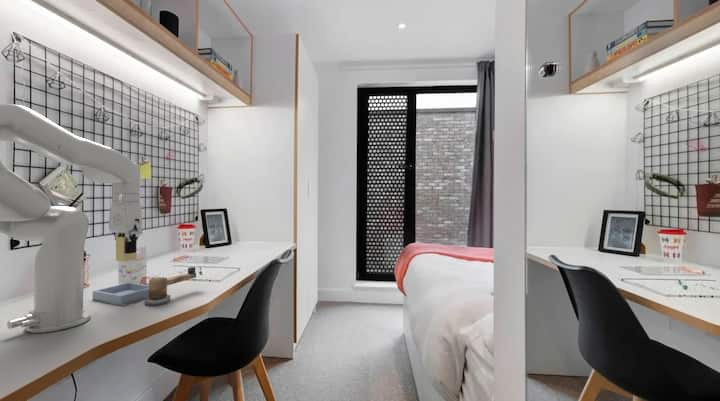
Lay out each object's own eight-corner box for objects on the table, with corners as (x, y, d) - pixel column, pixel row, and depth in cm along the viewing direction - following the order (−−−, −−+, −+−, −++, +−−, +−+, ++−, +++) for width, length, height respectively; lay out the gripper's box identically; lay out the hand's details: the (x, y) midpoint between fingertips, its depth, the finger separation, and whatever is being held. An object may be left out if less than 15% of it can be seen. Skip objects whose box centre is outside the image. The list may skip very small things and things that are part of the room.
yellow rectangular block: (124, 261, 104) (124, 237, 104) (115, 260, 105) (116, 236, 105) (136, 259, 108) (136, 236, 107) (128, 258, 109) (128, 235, 109)
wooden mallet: (156, 299, 99) (156, 278, 99) (145, 297, 101) (145, 276, 101) (199, 286, 115) (199, 267, 115) (188, 284, 117) (189, 266, 117)
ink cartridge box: (134, 282, 124) (134, 245, 124) (146, 283, 124) (147, 246, 123) (117, 289, 115) (117, 249, 115) (130, 289, 115) (131, 249, 115)
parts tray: (120, 305, 99) (121, 296, 98) (92, 300, 103) (92, 291, 103) (155, 295, 109) (155, 286, 109) (128, 290, 114) (129, 282, 114)
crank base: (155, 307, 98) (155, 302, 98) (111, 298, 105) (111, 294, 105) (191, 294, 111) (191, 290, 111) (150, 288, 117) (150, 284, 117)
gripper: (97, 198, 105) (97, 252, 106) (132, 199, 100) (132, 256, 100) (121, 198, 112) (121, 248, 113) (154, 199, 107) (154, 252, 107)
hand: (126, 251), depth 106 cm, fingers closed on yellow rectangular block, 4 cm apart
